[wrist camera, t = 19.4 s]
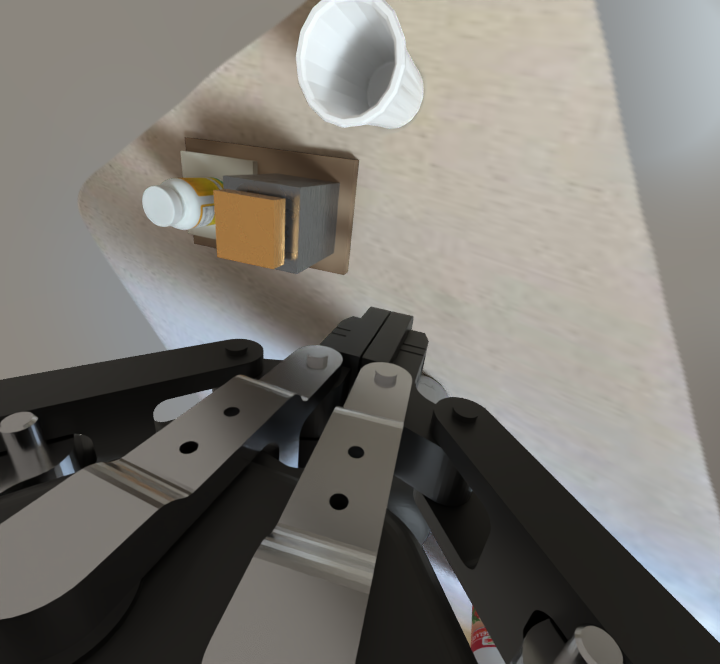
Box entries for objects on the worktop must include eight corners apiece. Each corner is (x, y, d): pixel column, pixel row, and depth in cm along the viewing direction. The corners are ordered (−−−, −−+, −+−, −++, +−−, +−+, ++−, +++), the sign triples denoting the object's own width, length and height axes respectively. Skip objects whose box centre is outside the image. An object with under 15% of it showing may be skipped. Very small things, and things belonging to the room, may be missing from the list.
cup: (424, 31, 35) (389, -43, 23) (440, 124, 38) (416, 104, 25) (347, 65, 38) (278, 16, 26) (367, 149, 41) (313, 142, 28)
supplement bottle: (242, 219, 46) (186, 231, 38) (207, 224, 48) (147, 237, 39) (230, 173, 44) (168, 174, 36) (194, 180, 46) (128, 183, 37)
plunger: (324, 244, 44) (273, 269, 34) (279, 235, 45) (217, 257, 35) (328, 191, 41) (274, 200, 31) (280, 184, 43) (213, 190, 32)
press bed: (347, 271, 47) (340, 277, 45) (201, 241, 52) (189, 244, 50) (359, 160, 41) (351, 160, 39) (193, 138, 46) (178, 136, 44)
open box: (334, 252, 45) (297, 273, 36) (275, 241, 47) (226, 258, 38) (339, 182, 41) (300, 187, 33) (276, 173, 43) (222, 175, 35)
